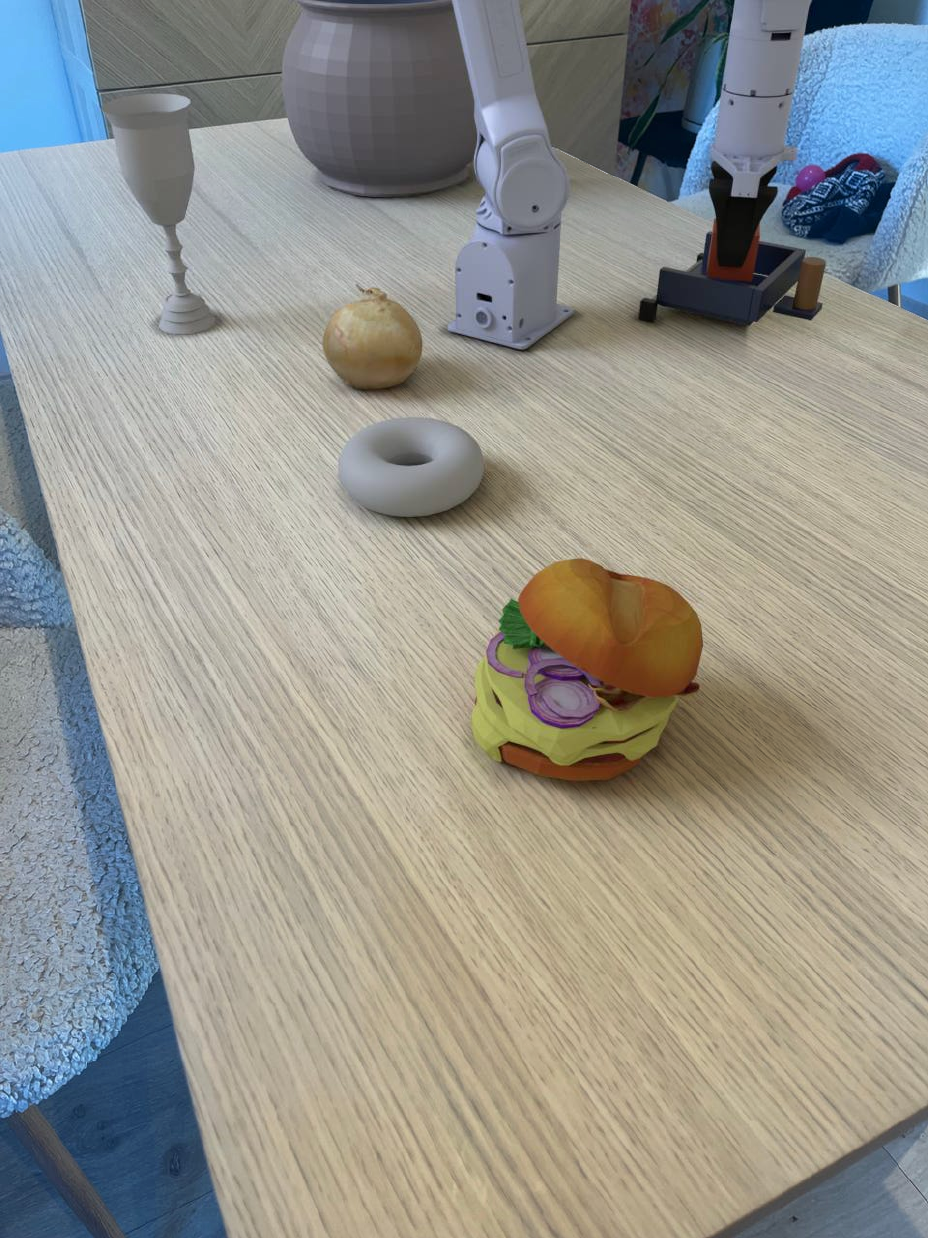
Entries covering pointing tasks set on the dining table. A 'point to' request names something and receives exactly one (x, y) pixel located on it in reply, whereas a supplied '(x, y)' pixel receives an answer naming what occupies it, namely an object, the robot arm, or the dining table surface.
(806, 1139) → the dining table surface
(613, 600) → the cheeseburger
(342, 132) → the grey pot
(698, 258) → the black bar
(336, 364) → the onion
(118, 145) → the chalice
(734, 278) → the block
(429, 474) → the donut
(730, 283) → the dark navy tray
